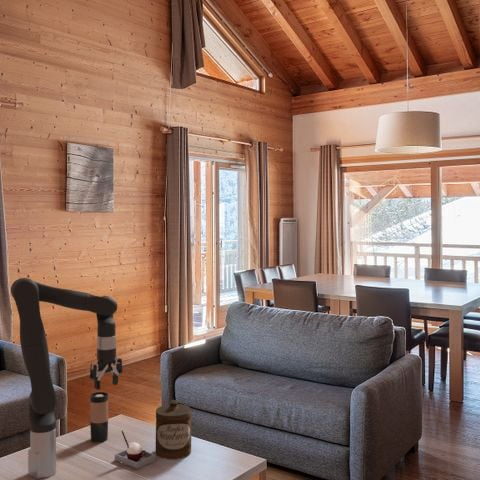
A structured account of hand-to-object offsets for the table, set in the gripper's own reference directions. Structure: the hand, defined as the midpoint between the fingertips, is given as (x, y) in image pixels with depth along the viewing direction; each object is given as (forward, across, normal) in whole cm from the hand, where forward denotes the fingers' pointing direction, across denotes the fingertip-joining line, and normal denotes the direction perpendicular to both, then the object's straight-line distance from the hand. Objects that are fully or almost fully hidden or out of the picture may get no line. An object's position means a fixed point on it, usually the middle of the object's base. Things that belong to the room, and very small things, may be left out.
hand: (106, 387), depth 228 cm
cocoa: (+30, +7, -8) cm, 32 cm away
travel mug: (+30, +12, +20) cm, 38 cm away
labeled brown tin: (+30, +23, -14) cm, 41 cm away
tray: (+30, +8, -8) cm, 32 cm away
